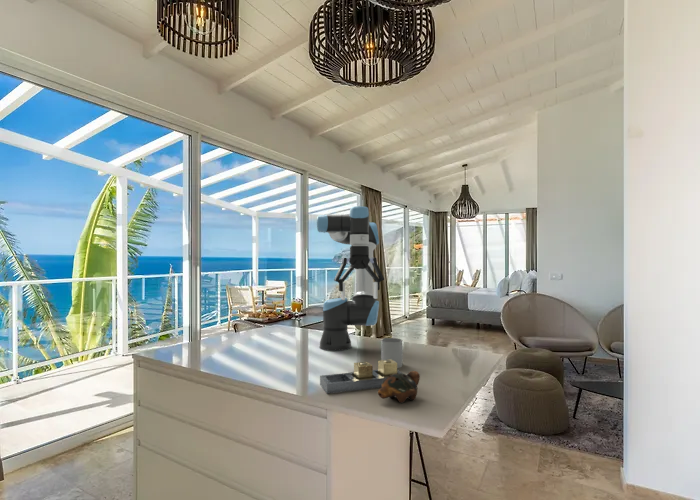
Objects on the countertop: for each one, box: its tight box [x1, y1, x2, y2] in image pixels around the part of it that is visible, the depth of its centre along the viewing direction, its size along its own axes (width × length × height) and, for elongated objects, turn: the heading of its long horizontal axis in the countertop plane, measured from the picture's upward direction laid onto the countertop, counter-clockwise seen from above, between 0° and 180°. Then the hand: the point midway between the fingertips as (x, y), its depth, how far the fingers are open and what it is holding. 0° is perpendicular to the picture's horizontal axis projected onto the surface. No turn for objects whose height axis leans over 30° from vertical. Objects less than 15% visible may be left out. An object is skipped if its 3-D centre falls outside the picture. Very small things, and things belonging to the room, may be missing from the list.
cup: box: [380, 337, 403, 369], centre depth 158 cm, size 8×8×10 cm
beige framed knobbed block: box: [377, 359, 398, 377], centre depth 138 cm, size 5×5×7 cm
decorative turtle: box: [377, 370, 421, 404], centre depth 121 cm, size 10×15×8 cm, turn 126°
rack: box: [319, 369, 404, 395], centre depth 135 cm, size 9×28×3 cm, turn 108°
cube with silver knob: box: [353, 361, 374, 380], centre depth 135 cm, size 5×5×7 cm
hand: (359, 299), depth 157 cm, fingers open, 13 cm apart
